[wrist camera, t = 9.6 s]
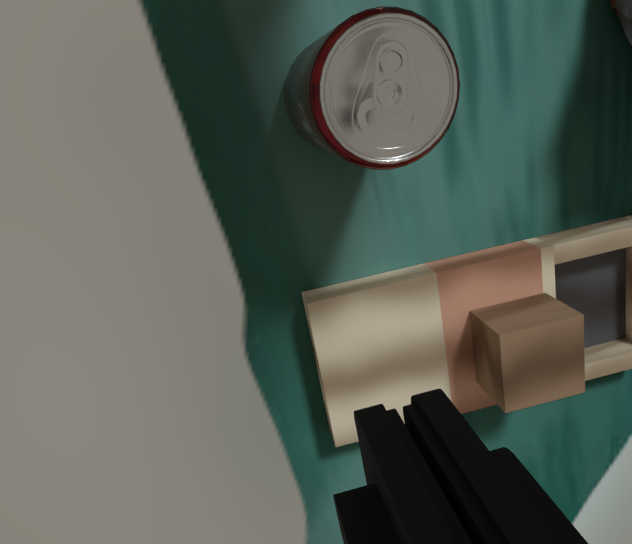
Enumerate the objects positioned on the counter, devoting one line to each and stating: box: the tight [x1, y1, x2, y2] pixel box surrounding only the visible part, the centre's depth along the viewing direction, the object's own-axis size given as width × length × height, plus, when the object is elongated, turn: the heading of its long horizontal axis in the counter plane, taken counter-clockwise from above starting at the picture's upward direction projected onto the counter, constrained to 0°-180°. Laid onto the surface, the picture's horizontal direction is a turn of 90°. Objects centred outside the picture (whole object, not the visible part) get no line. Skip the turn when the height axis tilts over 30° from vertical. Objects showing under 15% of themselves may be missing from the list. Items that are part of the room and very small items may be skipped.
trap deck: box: [301, 215, 632, 447], centre depth 42 cm, size 12×27×2 cm, turn 101°
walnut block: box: [470, 293, 585, 413], centre depth 39 cm, size 6×6×4 cm
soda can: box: [284, 6, 460, 170], centre depth 30 cm, size 7×7×12 cm
